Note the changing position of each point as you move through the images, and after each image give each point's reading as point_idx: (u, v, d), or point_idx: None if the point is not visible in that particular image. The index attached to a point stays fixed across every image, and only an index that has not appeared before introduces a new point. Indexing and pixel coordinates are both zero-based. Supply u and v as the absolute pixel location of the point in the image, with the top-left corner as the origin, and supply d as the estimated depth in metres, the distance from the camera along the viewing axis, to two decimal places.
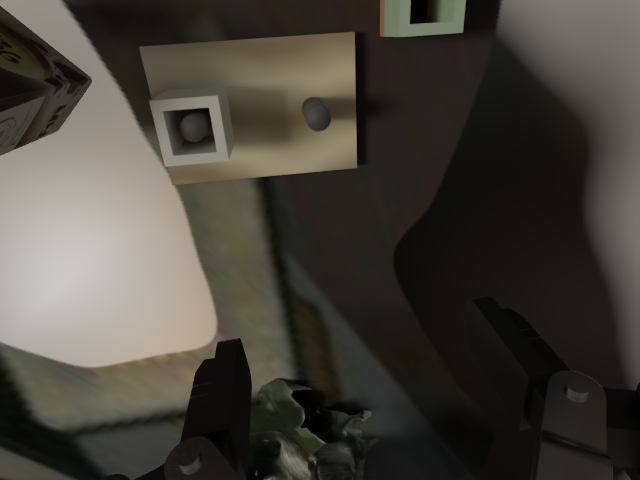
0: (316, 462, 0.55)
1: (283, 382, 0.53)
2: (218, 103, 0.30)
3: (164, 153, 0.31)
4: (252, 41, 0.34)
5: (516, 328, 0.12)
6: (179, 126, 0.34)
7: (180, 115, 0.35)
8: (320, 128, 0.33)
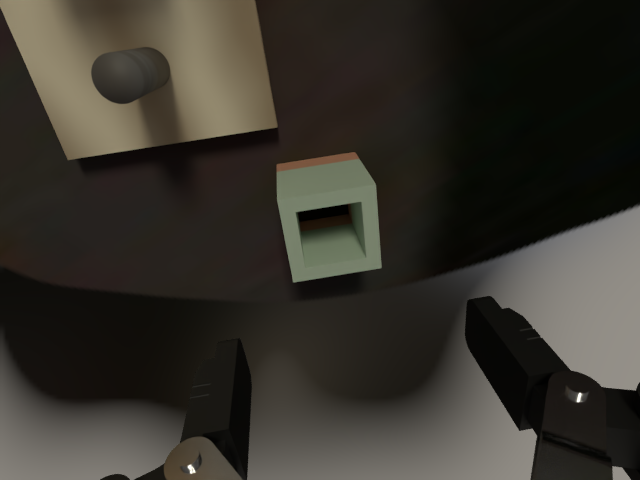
0: None
1: None
2: None
3: None
4: None
5: (516, 328, 0.12)
6: None
7: None
8: (99, 83, 0.17)
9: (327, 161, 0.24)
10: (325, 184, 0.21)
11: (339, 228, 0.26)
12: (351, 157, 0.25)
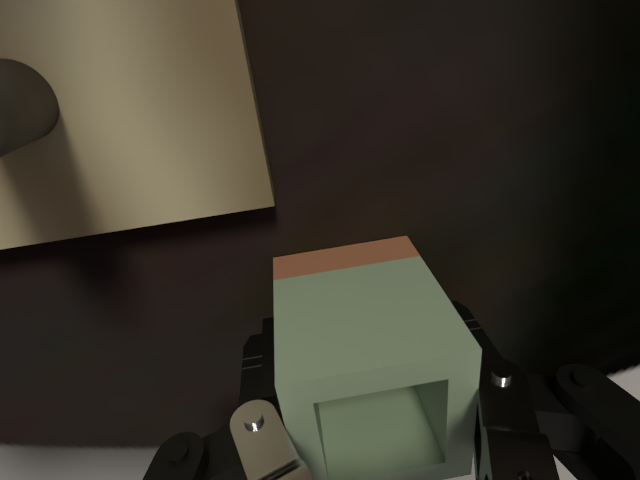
0: None
1: None
2: None
3: None
4: None
5: None
6: None
7: None
8: None
9: (362, 258, 0.14)
10: (371, 336, 0.10)
11: None
12: (404, 250, 0.14)
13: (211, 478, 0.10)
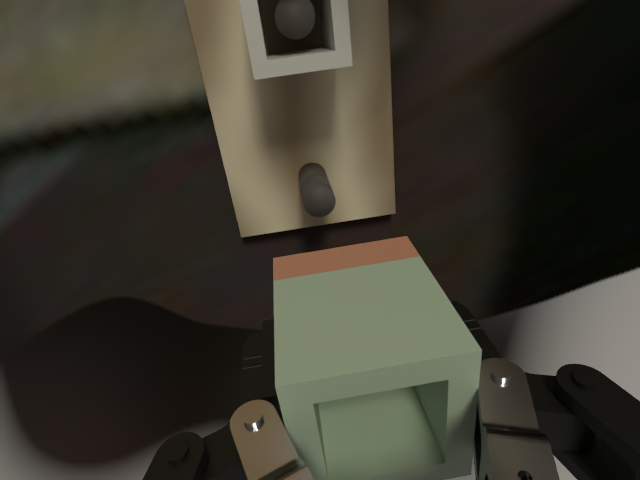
0: None
1: None
2: (341, 66, 0.20)
3: None
4: (388, 96, 0.27)
5: None
6: None
7: None
8: (307, 205, 0.25)
9: (362, 258, 0.14)
10: (371, 337, 0.10)
11: None
12: (404, 250, 0.14)
13: (211, 478, 0.10)
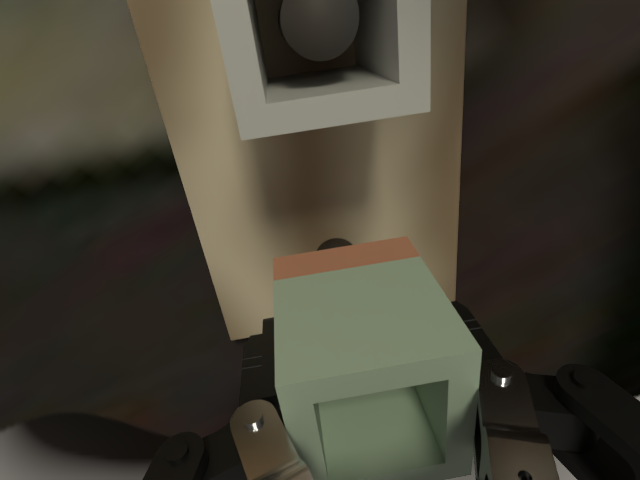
0: None
1: None
2: (408, 112, 0.11)
3: None
4: (457, 141, 0.17)
5: None
6: None
7: None
8: None
9: (362, 258, 0.14)
10: (371, 337, 0.10)
11: None
12: (404, 250, 0.14)
13: (211, 478, 0.10)
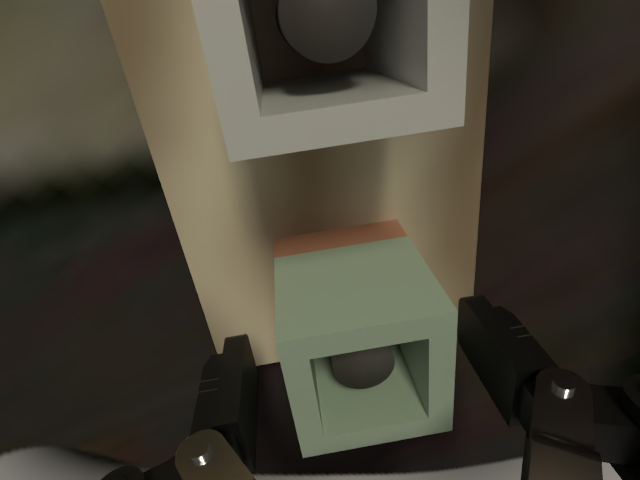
0: None
1: None
2: (436, 126, 0.09)
3: None
4: (478, 153, 0.15)
5: (506, 326, 0.12)
6: None
7: None
8: (341, 372, 0.13)
9: (355, 238, 0.15)
10: (361, 302, 0.12)
11: None
12: (394, 231, 0.15)
13: None
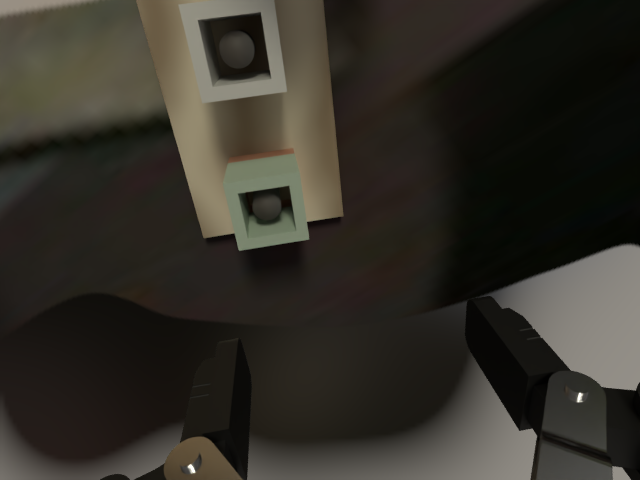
0: None
1: None
2: (277, 91, 0.24)
3: (199, 6, 0.21)
4: (331, 113, 0.30)
5: (516, 328, 0.12)
6: (229, 18, 0.25)
7: (241, 17, 0.26)
8: (256, 209, 0.28)
9: (269, 155, 0.30)
10: (262, 172, 0.27)
11: None
12: (289, 152, 0.30)
13: None
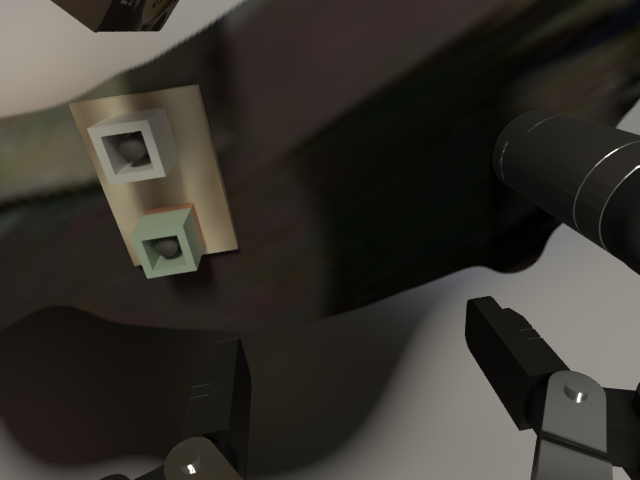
0: None
1: None
2: (159, 176, 0.36)
3: (100, 129, 0.33)
4: (218, 178, 0.42)
5: (516, 328, 0.12)
6: None
7: None
8: (158, 250, 0.40)
9: (173, 208, 0.42)
10: (159, 225, 0.39)
11: None
12: (188, 206, 0.43)
13: None
